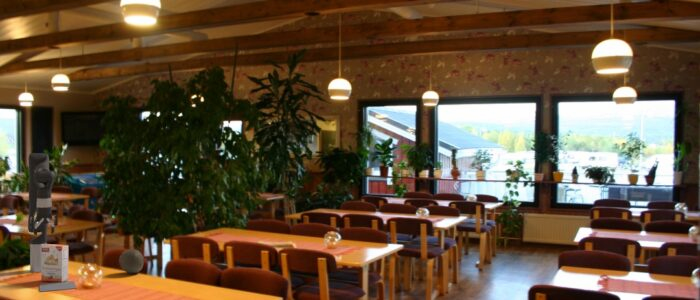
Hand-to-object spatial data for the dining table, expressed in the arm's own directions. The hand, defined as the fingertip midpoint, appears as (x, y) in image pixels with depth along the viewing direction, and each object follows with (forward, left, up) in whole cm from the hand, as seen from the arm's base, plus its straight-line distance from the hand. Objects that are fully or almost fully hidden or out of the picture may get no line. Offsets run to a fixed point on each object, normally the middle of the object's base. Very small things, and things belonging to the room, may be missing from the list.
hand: (43, 234), depth 338 cm
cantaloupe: (-10, +49, -29) cm, 58 cm away
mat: (+7, +7, -29) cm, 31 cm away
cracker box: (-7, +6, -29) cm, 30 cm away
